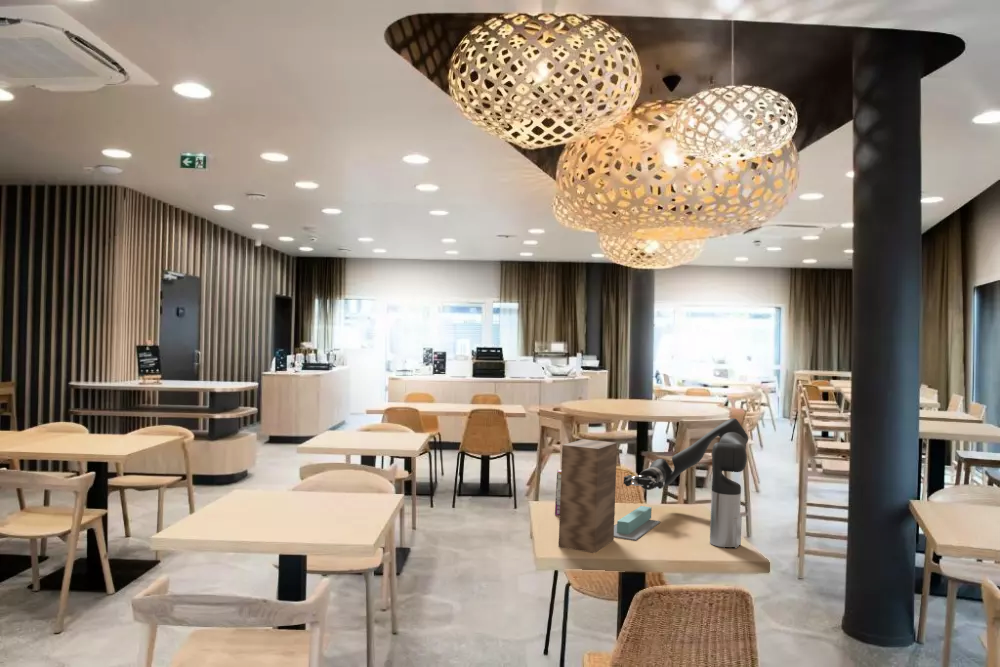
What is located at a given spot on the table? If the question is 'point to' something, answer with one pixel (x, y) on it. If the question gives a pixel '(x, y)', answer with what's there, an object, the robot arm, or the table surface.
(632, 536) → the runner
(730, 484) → the robot arm
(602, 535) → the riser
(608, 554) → the table surface
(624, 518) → the teal bar
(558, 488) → the candy bar box
